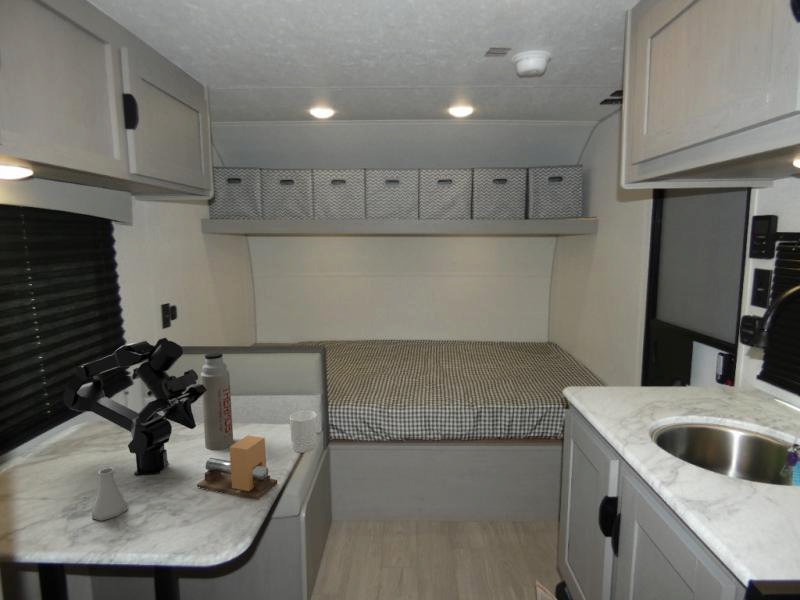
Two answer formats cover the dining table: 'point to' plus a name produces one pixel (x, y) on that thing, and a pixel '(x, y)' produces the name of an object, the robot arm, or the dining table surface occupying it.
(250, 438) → the tan block
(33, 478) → the dining table surface
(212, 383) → the thermos bottle
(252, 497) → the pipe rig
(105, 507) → the flask
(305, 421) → the white cup
